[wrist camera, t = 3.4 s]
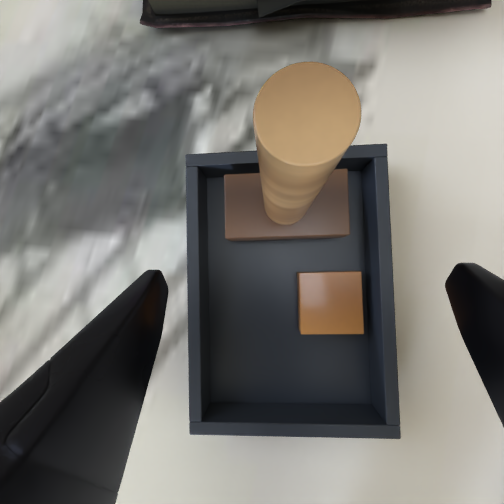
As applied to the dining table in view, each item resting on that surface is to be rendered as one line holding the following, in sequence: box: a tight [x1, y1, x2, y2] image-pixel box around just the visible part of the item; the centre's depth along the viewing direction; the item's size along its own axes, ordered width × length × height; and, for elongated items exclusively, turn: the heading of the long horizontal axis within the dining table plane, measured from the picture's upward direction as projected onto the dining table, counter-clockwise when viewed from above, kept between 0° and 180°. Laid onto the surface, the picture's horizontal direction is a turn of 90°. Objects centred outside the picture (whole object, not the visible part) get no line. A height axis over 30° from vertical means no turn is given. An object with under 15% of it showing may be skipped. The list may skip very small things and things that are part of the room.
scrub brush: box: [224, 62, 361, 241], centre depth 13 cm, size 4×8×13 cm, turn 91°
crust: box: [297, 271, 364, 334], centre depth 18 cm, size 4×4×1 cm
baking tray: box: [186, 144, 401, 439], centre depth 18 cm, size 18×13×3 cm
